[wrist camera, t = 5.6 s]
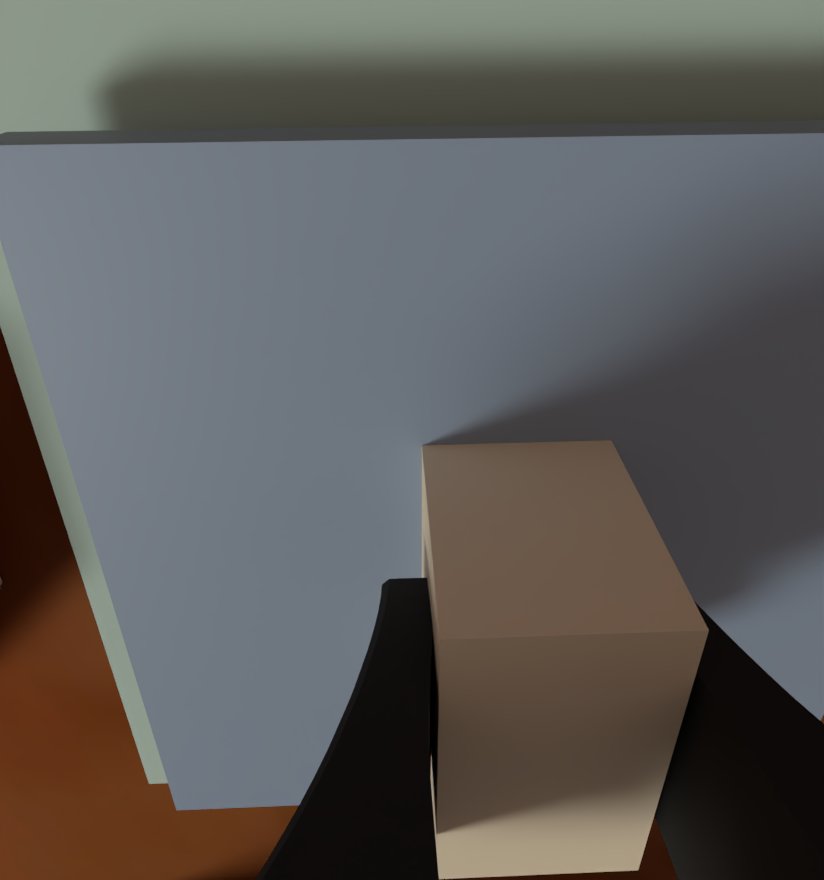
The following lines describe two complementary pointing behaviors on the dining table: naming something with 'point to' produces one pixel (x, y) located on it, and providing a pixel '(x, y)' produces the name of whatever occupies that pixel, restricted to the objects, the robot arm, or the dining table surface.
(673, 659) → the lid
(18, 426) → the dining table surface
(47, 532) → the dining table surface
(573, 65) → the mat
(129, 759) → the dining table surface
